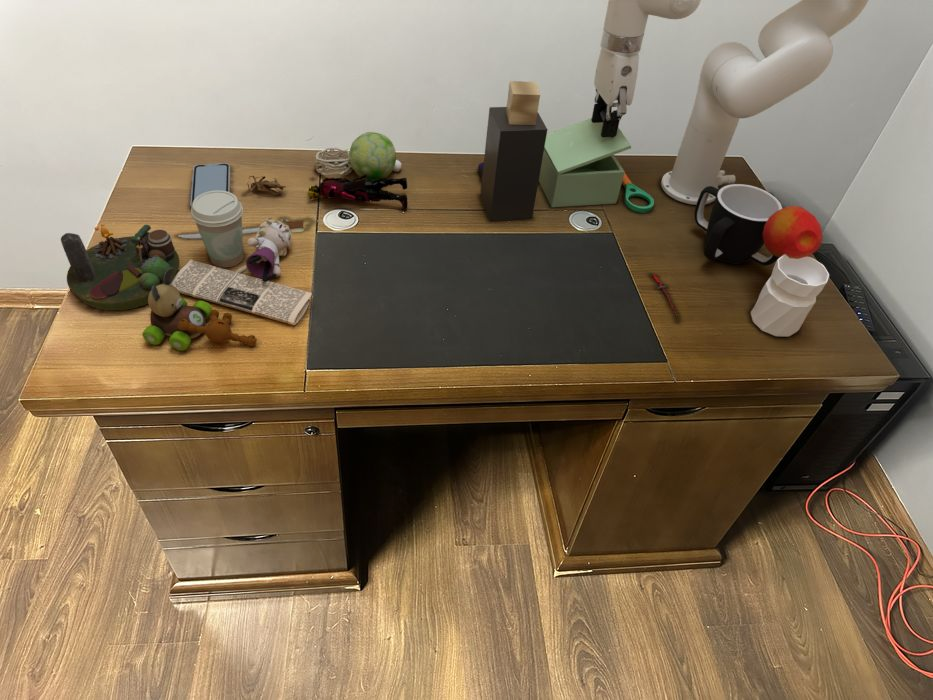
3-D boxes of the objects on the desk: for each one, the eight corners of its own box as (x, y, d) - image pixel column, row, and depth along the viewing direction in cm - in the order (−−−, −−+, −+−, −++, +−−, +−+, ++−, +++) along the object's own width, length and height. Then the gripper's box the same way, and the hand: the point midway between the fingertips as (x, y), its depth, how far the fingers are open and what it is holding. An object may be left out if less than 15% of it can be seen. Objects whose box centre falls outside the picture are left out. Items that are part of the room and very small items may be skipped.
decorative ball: (359, 115, 141) (376, 137, 150) (332, 155, 141) (351, 175, 150) (396, 136, 138) (411, 157, 148) (369, 178, 138) (386, 196, 148)
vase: (759, 336, 122) (787, 285, 113) (744, 303, 128) (769, 252, 119) (806, 337, 123) (838, 287, 114) (789, 304, 129) (817, 253, 120)
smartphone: (189, 207, 135) (193, 164, 144) (190, 210, 135) (194, 168, 145) (229, 204, 136) (229, 162, 146) (229, 208, 137) (230, 166, 146)
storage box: (595, 169, 157) (602, 137, 151) (616, 203, 148) (624, 171, 142) (534, 172, 154) (539, 140, 148) (551, 207, 145) (557, 175, 139)
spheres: (365, 142, 158) (356, 143, 156) (366, 132, 156) (357, 133, 155) (402, 173, 150) (393, 174, 149) (404, 162, 149) (395, 163, 147)
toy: (253, 247, 114) (277, 203, 125) (206, 269, 117) (234, 225, 129) (284, 285, 118) (305, 239, 130) (238, 306, 122) (263, 260, 133)
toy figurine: (260, 315, 115) (258, 336, 110) (254, 333, 117) (252, 355, 111) (185, 296, 111) (179, 318, 105) (180, 315, 112) (174, 337, 107)
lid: (608, 115, 147) (605, 93, 143) (631, 148, 138) (628, 125, 134) (540, 140, 148) (535, 119, 144) (558, 174, 139) (553, 153, 135)
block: (531, 112, 131) (536, 81, 127) (535, 125, 128) (540, 94, 124) (505, 111, 131) (509, 80, 127) (508, 124, 127) (512, 93, 123)
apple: (830, 205, 113) (800, 196, 125) (774, 222, 115) (750, 211, 126) (838, 258, 116) (808, 244, 128) (784, 274, 118) (759, 259, 129)
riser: (520, 193, 148) (534, 105, 133) (532, 218, 142) (547, 129, 127) (480, 196, 146) (489, 107, 132) (489, 221, 140) (500, 131, 126)
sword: (178, 248, 127) (176, 232, 130) (178, 249, 127) (177, 233, 130) (314, 229, 134) (309, 214, 137) (314, 230, 134) (309, 215, 137)
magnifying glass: (657, 211, 147) (659, 205, 146) (631, 214, 146) (633, 207, 144) (629, 173, 157) (631, 166, 156) (604, 174, 156) (606, 168, 154)
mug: (773, 284, 132) (799, 233, 124) (689, 269, 134) (709, 218, 125) (763, 234, 144) (787, 185, 135) (686, 221, 145) (705, 171, 136)
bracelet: (314, 163, 150) (350, 161, 152) (318, 179, 144) (356, 177, 146) (312, 145, 148) (350, 144, 150) (317, 161, 142) (355, 159, 144)
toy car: (192, 354, 109) (175, 302, 101) (140, 342, 110) (120, 290, 102) (218, 315, 116) (205, 264, 108) (169, 305, 116) (152, 253, 108)
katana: (660, 273, 132) (659, 275, 132) (652, 273, 131) (651, 275, 132) (682, 321, 124) (681, 324, 124) (673, 321, 123) (672, 324, 124)
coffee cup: (209, 277, 122) (195, 221, 114) (198, 249, 127) (183, 194, 119) (257, 265, 125) (247, 210, 117) (244, 238, 130) (233, 184, 122)
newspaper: (293, 320, 114) (294, 327, 115) (312, 292, 119) (313, 299, 120) (166, 285, 118) (169, 292, 119) (189, 259, 122) (192, 266, 123)
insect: (280, 168, 137) (293, 182, 141) (243, 169, 139) (257, 182, 144) (275, 188, 135) (288, 201, 140) (238, 189, 138) (252, 201, 143)
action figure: (407, 188, 148) (313, 188, 147) (406, 161, 145) (310, 161, 143) (407, 219, 137) (305, 220, 135) (406, 191, 133) (301, 192, 132)
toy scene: (76, 253, 124) (54, 204, 116) (181, 241, 128) (167, 192, 121) (66, 321, 112) (42, 271, 105) (183, 305, 117) (167, 255, 109)
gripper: (658, 58, 123) (635, 149, 137) (624, 20, 135) (606, 108, 148) (618, 60, 122) (599, 152, 135) (588, 22, 134) (573, 110, 147)
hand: (603, 128), depth 142 cm, fingers closed on lid, 5 cm apart
